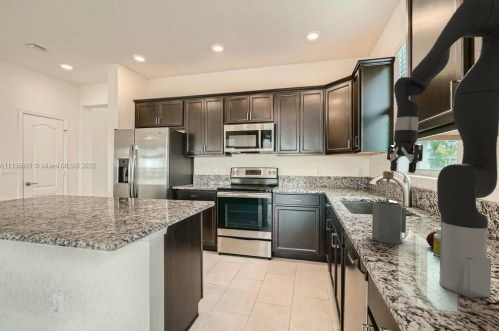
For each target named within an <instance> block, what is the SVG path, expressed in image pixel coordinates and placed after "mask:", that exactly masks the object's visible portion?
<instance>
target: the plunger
mask: <svg viewBox="0 0 499 331" xmlns="http://www.w3.org/2000/svg"><path fill="white" fill-rule="evenodd" d="M394 173H395V171H391V170H390V171H389V170H387V171H386V170H384V171H382V178H383V179H386V182H385V183H386V189H385V200H386V205H389V200H390V188H391V186H390V184H391V181H390V180H391V179H392V180H393V179H394V178H395V177H394V176H395V174H394Z"/></svg>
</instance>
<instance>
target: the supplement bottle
mask: <svg viewBox="0 0 499 331" xmlns="http://www.w3.org/2000/svg"><path fill="white" fill-rule="evenodd" d="M435 231H436V232H437V233H436V234H434V248H432V250H433V252H432V253H433V254H434V255H435V256H436V257H439V258H440V244H441V227H436V230H435Z"/></svg>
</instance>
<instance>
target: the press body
mask: <svg viewBox="0 0 499 331" xmlns="http://www.w3.org/2000/svg"><path fill="white" fill-rule="evenodd" d="M371 222H372V226H371V228H372V229H371V232H372V233H371V236H372V240H374V241H376V242H378V243H383V244H388V245H401V244H402V243H403V234H405V233H406V227H407V226H406V225H407V207H404V204H402V203H400V202H399V203H394V202H389V205H386V202H385V201H384V200H383V201H381V200H380V201H376V200H375V201H373V202H372V221H371Z"/></svg>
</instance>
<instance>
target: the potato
mask: <svg viewBox="0 0 499 331" xmlns="http://www.w3.org/2000/svg"><path fill="white" fill-rule="evenodd" d="M436 233H437V232H436V230H433V231H431V232H430V233H428V234H427V236H426V243H427V244H428V246H429V247H430V248H432V249H433V248H434V234H436Z"/></svg>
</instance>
